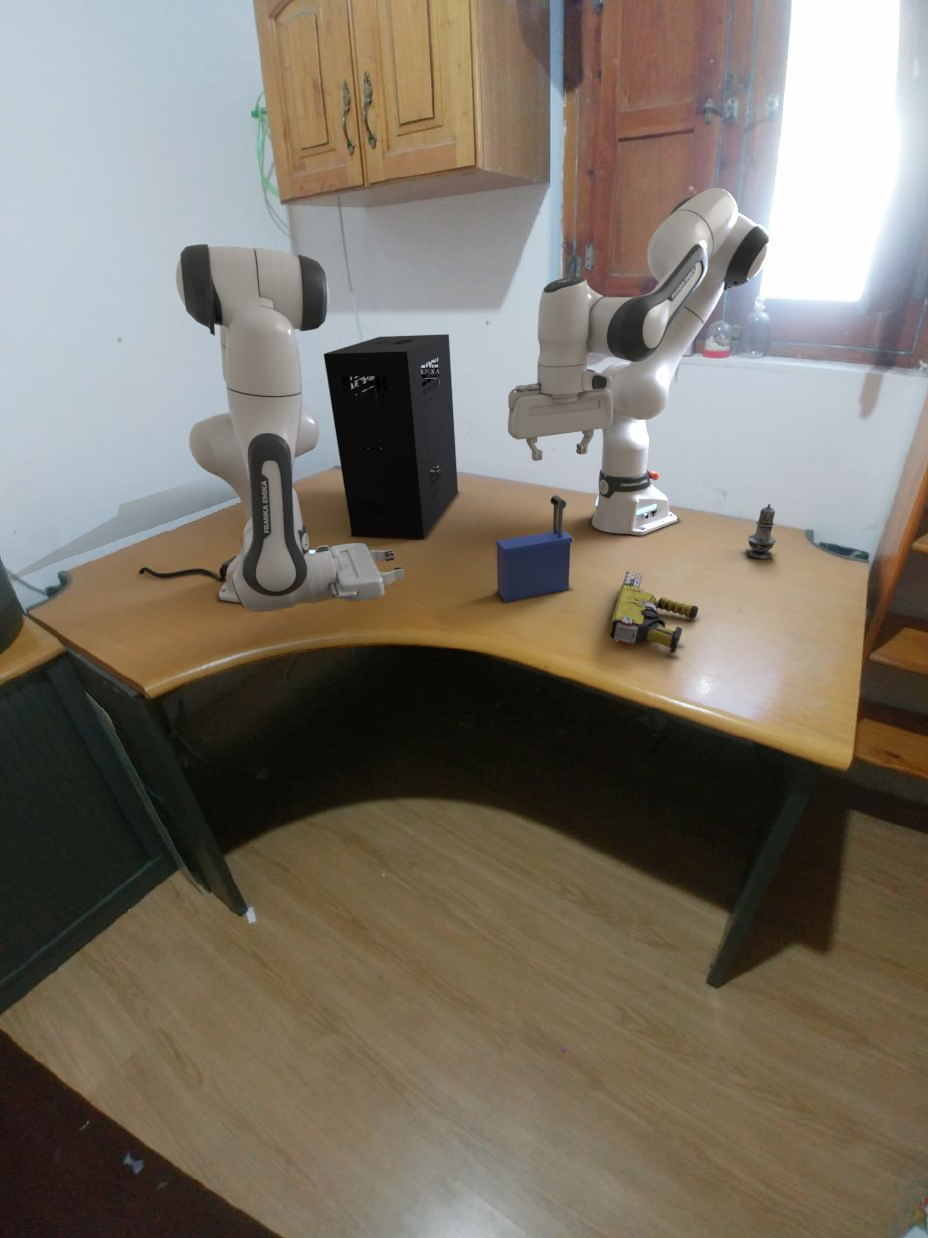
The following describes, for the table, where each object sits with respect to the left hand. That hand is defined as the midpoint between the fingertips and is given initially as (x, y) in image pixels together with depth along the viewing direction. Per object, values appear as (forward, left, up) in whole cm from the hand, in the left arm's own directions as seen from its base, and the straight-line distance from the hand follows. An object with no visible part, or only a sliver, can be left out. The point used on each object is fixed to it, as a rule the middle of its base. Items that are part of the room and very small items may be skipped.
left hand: (398, 563), depth 116 cm
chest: (+25, +12, -12) cm, 31 cm away
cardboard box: (-12, +60, -12) cm, 63 cm away
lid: (+26, +12, -1) cm, 29 cm away
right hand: (+30, +15, +16) cm, 37 cm away
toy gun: (+49, +1, -12) cm, 51 cm away
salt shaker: (+77, +32, -12) cm, 84 cm away
